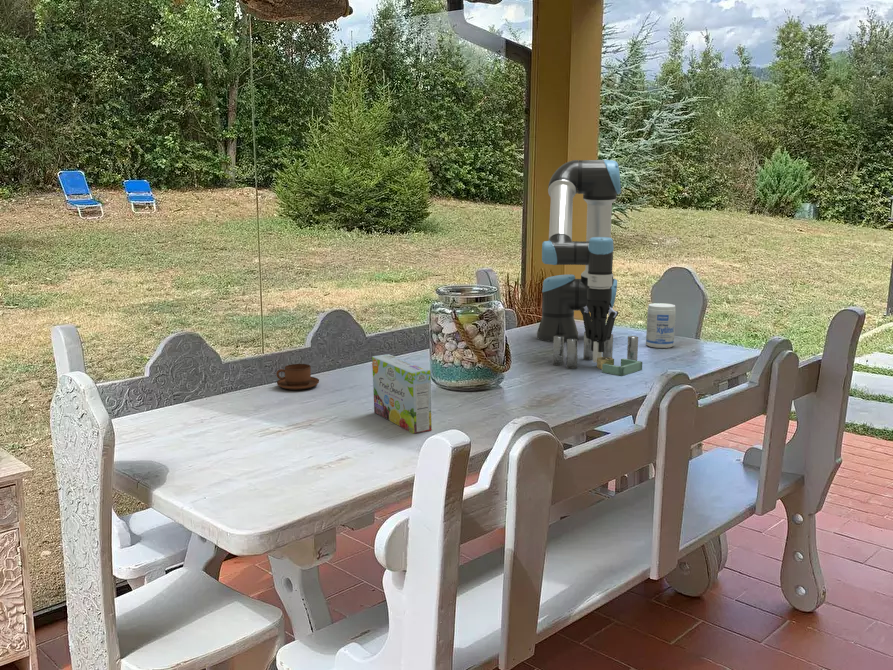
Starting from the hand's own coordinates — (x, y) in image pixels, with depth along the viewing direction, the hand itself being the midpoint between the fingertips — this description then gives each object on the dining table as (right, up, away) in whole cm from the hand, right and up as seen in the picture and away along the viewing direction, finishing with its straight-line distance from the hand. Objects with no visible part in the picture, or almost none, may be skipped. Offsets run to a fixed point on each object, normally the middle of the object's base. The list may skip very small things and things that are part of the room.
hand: (597, 361), depth 267 cm
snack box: (-59, -13, -58) cm, 84 cm away
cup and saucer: (-90, -7, -24) cm, 94 cm away
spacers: (-1, -1, +3) cm, 3 cm away
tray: (+7, -3, -6) cm, 9 cm away
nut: (+2, -2, -2) cm, 3 cm away
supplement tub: (+28, +4, +32) cm, 42 cm away
